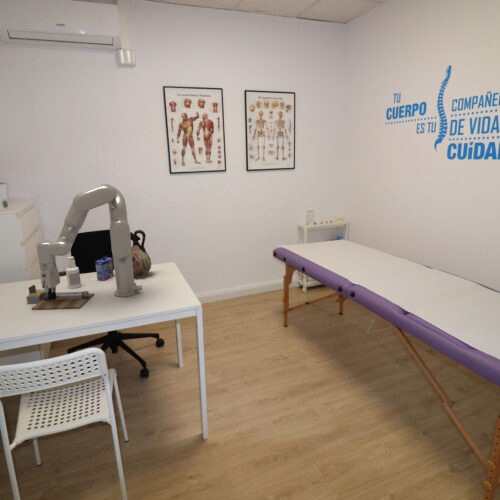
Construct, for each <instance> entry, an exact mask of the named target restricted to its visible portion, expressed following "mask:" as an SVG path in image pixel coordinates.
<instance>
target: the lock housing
mask: <svg viewBox="0 0 500 500" xmlns="http://www.w3.org/2000/svg"><path fill="white" fill-rule="evenodd" d="M46 294H47V292H45V293H44V294H42V295H41V296H29V295H27V296H26V302H27V304H28V305H30V304H31V305H34V304H35V305H36V304H38V303H39V302H40V301H42V300H43V296H44V295H46Z"/></svg>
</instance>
